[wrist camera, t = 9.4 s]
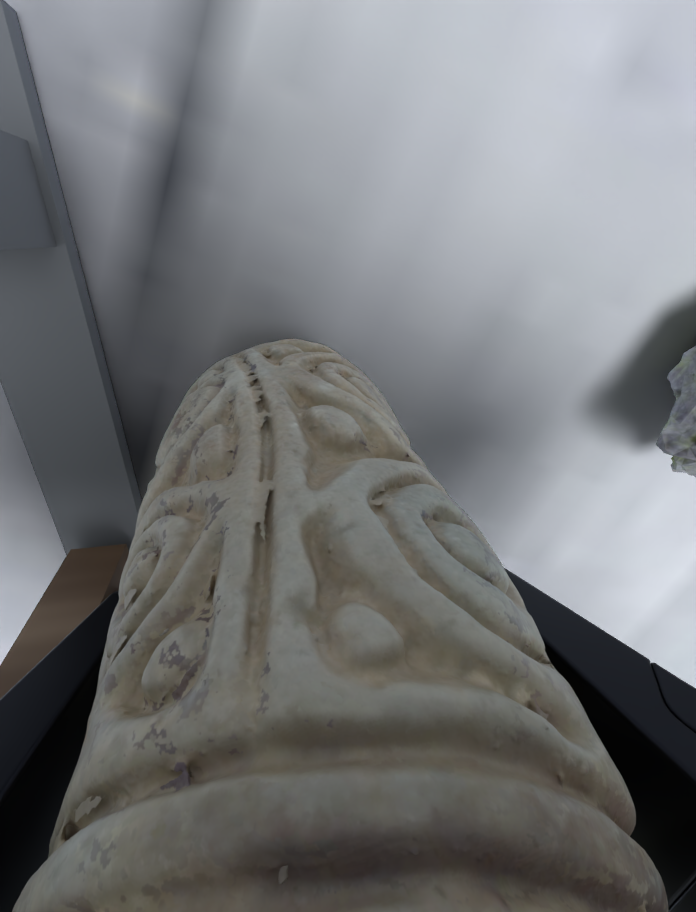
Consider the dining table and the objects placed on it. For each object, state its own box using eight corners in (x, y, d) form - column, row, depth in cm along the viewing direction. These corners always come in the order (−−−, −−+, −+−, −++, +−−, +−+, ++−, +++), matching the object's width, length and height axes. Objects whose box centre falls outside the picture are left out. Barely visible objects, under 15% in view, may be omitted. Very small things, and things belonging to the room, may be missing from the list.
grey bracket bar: (215, 789, 22) (201, 962, 17) (167, 799, 22) (137, 979, 16) (15, 11, 8) (-381, -351, 3) (-124, 0, 8) (-831, -431, 3)
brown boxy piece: (302, 737, 20) (313, 881, 15) (150, 765, 19) (117, 928, 14) (287, 527, 14) (298, 658, 10) (70, 549, 13) (-26, 707, 9)
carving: (236, 554, 15) (164, 1253, 5) (137, 355, 12) (-1045, 1528, 1) (404, 505, 15) (678, 1084, 5) (361, 293, 12) (1074, 846, 1)
